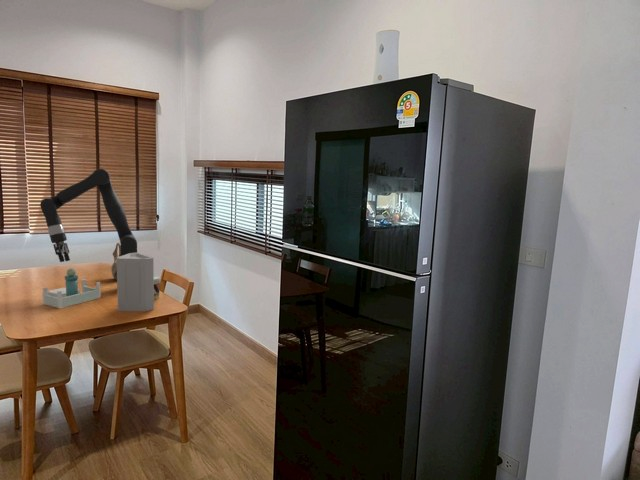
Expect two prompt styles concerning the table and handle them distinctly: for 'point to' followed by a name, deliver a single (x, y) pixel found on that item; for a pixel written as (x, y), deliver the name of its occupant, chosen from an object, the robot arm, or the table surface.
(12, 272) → the table surface
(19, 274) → the table surface
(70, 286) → the teal peg with ball
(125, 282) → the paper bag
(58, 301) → the rectangular frame with posts
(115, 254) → the ceramic vessel
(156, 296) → the coffee cup
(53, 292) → the stone tile
